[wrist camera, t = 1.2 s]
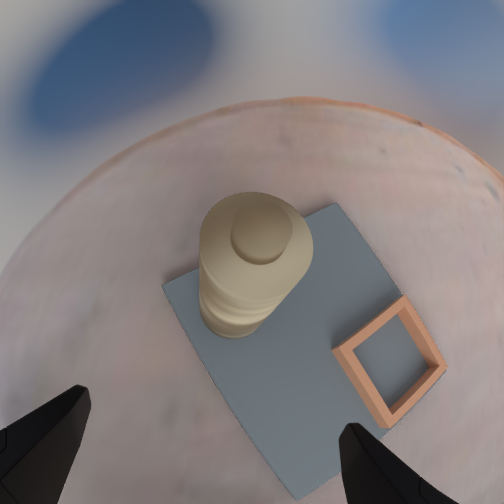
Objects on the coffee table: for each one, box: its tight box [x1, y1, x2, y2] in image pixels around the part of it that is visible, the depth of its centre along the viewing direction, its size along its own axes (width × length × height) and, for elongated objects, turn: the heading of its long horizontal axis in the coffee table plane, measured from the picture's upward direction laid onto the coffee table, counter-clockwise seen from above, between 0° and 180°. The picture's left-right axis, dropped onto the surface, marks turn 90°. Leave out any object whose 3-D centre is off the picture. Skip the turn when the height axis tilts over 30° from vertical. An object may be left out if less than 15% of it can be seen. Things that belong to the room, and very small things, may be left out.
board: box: [162, 203, 448, 501], centre depth 23 cm, size 20×18×2 cm
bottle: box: [199, 192, 313, 339], centre depth 18 cm, size 5×5×12 cm
